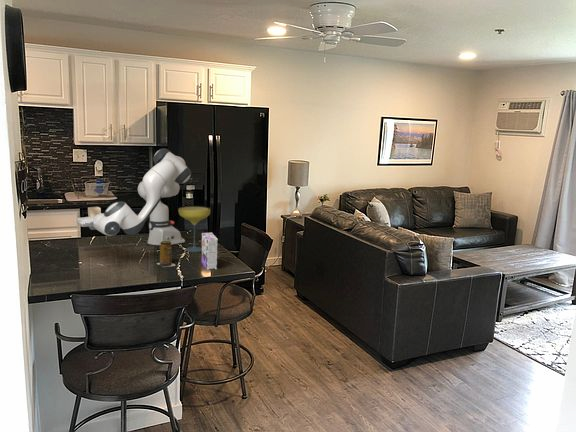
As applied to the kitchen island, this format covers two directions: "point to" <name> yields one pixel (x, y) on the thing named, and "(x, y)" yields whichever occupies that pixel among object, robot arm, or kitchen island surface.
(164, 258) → the condiment
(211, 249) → the candy box
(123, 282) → the kitchen island surface
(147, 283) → the kitchen island surface
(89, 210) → the flip block
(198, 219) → the cocktail glass
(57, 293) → the kitchen island surface
